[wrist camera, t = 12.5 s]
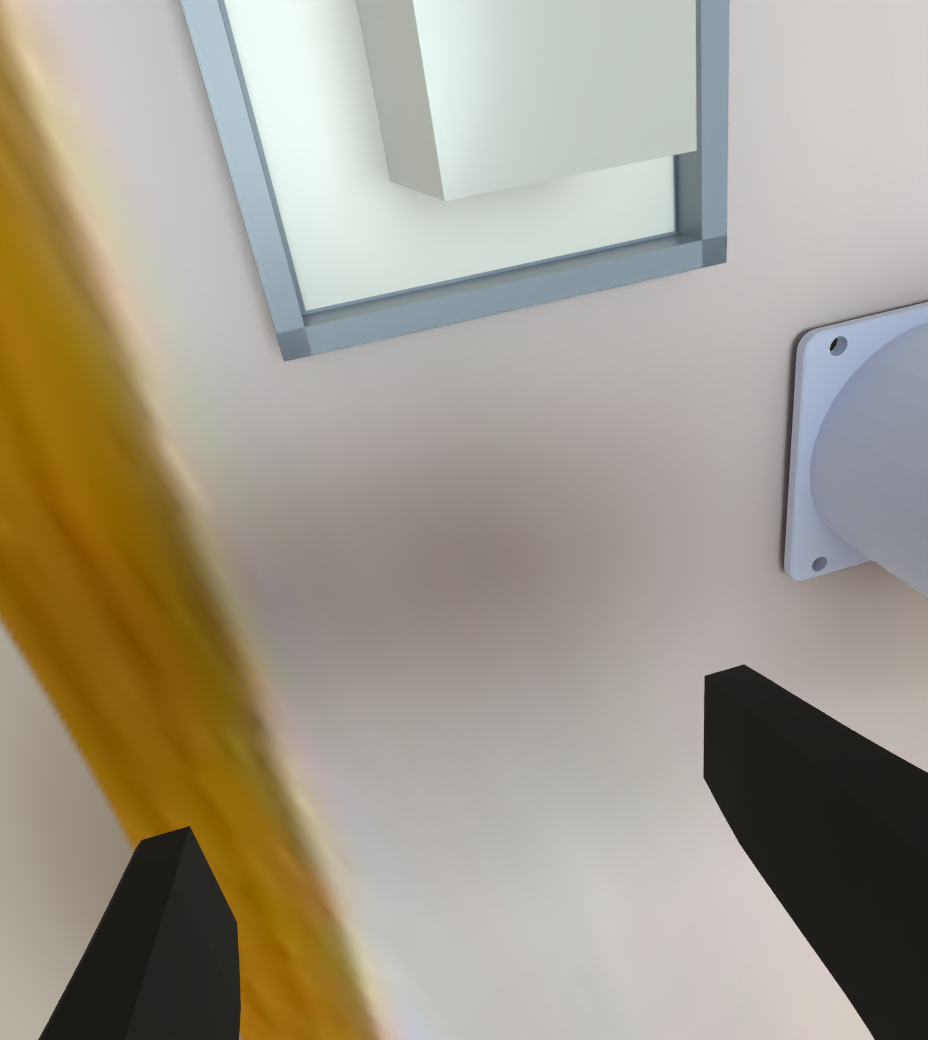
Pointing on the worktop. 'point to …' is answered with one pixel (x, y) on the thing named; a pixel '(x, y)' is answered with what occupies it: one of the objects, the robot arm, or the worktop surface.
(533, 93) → the block
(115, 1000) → the robot arm
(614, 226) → the tray
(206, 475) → the worktop surface
